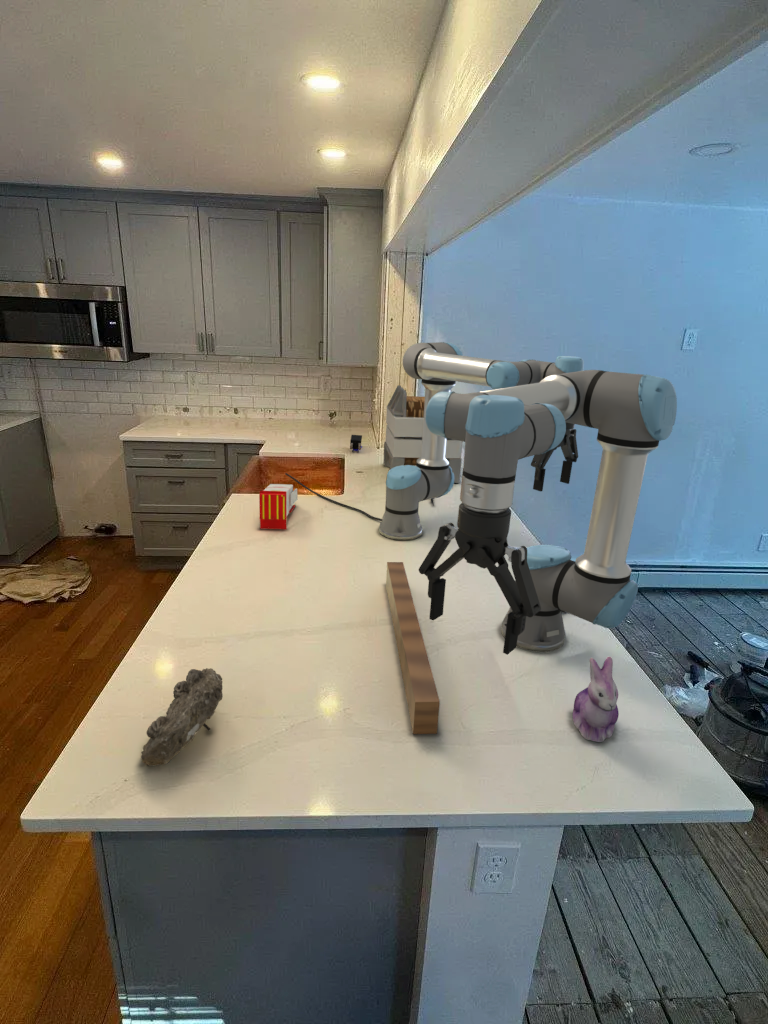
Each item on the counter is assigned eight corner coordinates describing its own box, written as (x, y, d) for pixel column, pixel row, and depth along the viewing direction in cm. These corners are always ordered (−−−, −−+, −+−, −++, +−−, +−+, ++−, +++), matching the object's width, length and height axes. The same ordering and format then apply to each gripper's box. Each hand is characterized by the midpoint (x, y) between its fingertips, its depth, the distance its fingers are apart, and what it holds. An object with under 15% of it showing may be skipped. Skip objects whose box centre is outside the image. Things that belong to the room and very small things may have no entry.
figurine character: (361, 456, 307) (362, 446, 320) (362, 442, 303) (362, 433, 317) (349, 455, 306) (350, 446, 320) (349, 442, 303) (350, 433, 316)
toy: (299, 479, 223) (289, 492, 194) (299, 512, 226) (289, 530, 197) (268, 478, 223) (253, 491, 193) (268, 512, 225) (254, 529, 196)
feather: (431, 488, 255) (434, 485, 255) (433, 507, 229) (436, 503, 228) (428, 486, 255) (431, 483, 255) (429, 505, 228) (432, 501, 228)
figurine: (597, 751, 104) (612, 683, 98) (557, 717, 112) (569, 652, 107) (633, 736, 108) (649, 669, 103) (592, 704, 116) (605, 641, 111)
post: (385, 585, 163) (387, 561, 160) (401, 585, 163) (403, 562, 161) (412, 734, 106) (415, 702, 104) (436, 733, 106) (439, 701, 104)
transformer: (382, 463, 289) (386, 382, 275) (445, 464, 293) (451, 384, 279) (390, 482, 257) (394, 392, 243) (460, 483, 261) (468, 394, 247)
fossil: (171, 669, 114) (224, 637, 109) (205, 700, 117) (257, 670, 112) (115, 759, 95) (175, 724, 90) (157, 793, 97) (218, 762, 92)
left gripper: (547, 419, 148) (536, 497, 155) (598, 412, 163) (585, 482, 171) (524, 415, 153) (514, 490, 160) (574, 408, 169) (564, 476, 176)
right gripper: (402, 490, 87) (395, 612, 94) (554, 535, 72) (532, 677, 79) (431, 481, 92) (422, 597, 99) (579, 521, 77) (556, 655, 84)
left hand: (551, 486), depth 165 cm, fingers open, 13 cm apart
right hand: (471, 632), depth 89 cm, fingers open, 13 cm apart
